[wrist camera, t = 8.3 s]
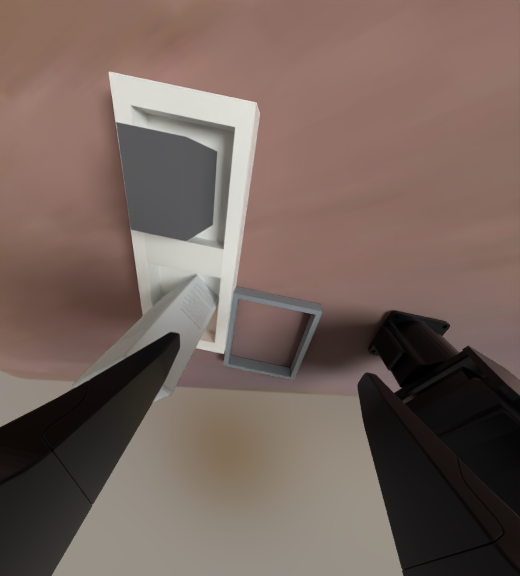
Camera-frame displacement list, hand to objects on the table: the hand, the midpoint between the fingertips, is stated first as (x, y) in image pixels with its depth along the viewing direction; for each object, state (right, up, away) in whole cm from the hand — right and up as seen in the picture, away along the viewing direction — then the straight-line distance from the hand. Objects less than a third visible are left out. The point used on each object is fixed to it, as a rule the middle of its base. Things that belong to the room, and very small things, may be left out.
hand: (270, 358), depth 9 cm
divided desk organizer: (-8, +8, +12) cm, 16 cm away
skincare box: (-9, +2, +14) cm, 17 cm away
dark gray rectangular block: (-6, +12, +8) cm, 16 cm away
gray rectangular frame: (+1, -3, +16) cm, 16 cm away
